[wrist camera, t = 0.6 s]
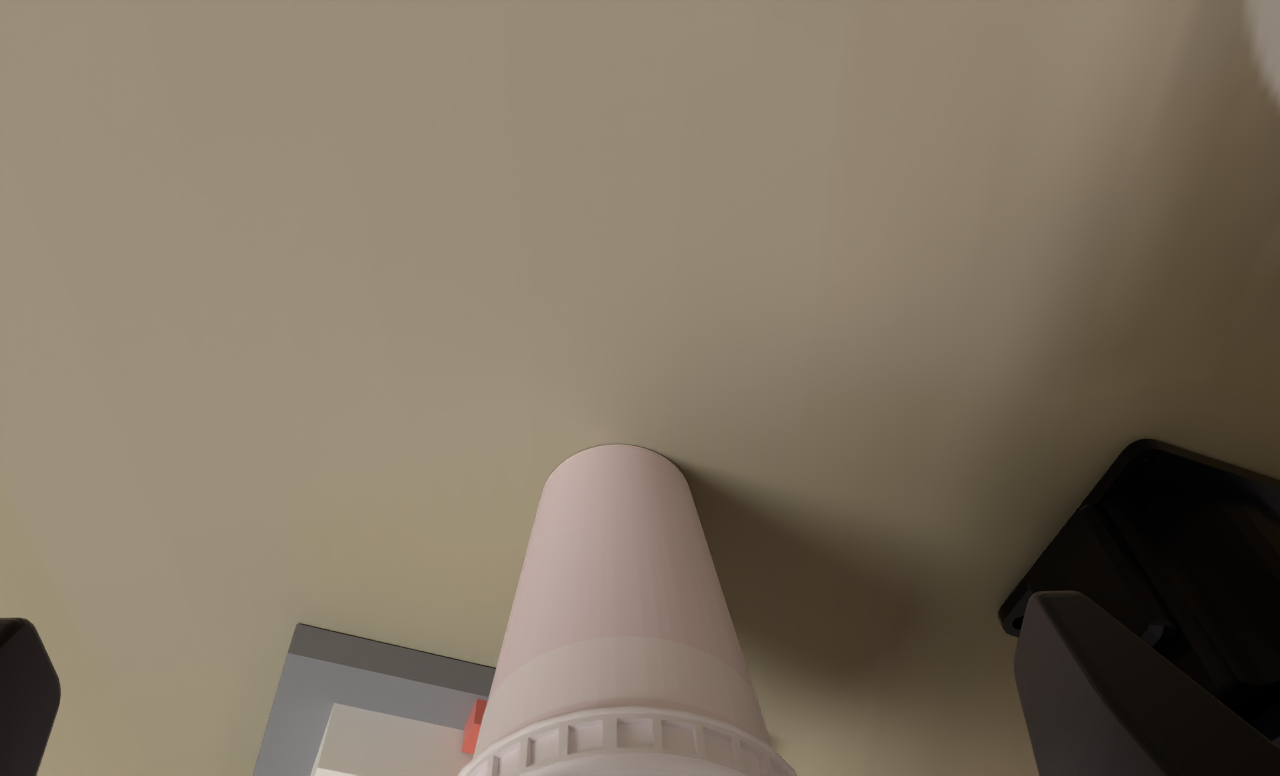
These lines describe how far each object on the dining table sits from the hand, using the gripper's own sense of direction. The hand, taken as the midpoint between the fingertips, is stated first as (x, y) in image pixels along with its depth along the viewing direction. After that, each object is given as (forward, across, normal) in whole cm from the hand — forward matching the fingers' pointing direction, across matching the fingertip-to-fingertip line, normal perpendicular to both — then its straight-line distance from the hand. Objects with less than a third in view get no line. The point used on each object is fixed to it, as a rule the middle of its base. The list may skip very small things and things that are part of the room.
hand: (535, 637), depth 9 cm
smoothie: (+13, 0, +9) cm, 16 cm away
